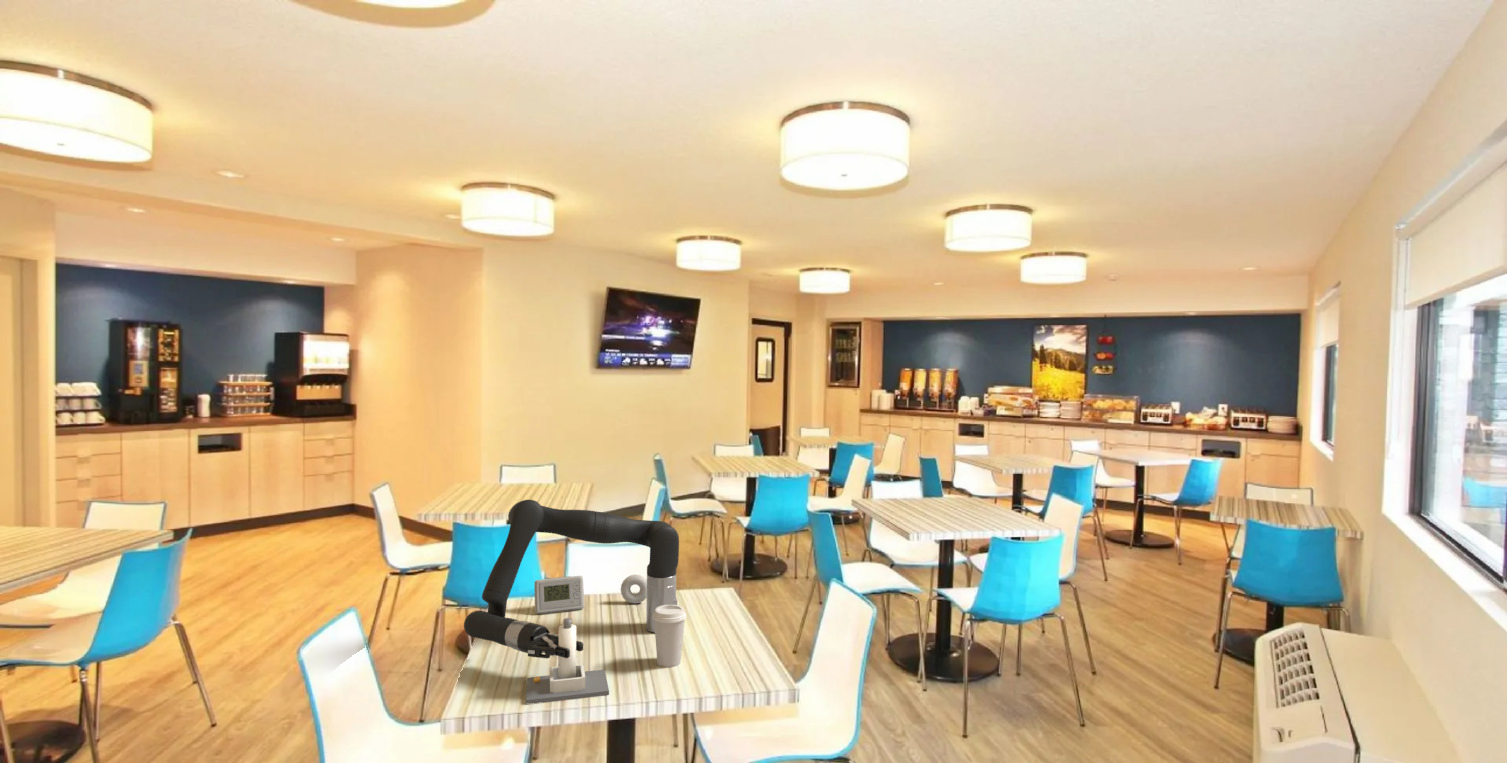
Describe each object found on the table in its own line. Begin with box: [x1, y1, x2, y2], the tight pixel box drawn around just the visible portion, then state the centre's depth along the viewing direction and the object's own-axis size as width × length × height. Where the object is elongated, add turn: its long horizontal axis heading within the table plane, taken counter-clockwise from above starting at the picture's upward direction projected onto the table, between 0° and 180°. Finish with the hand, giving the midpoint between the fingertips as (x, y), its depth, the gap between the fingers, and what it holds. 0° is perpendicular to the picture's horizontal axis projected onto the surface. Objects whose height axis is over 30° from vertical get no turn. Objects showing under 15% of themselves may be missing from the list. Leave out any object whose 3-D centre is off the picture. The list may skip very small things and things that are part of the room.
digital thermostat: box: [533, 575, 585, 615], centre depth 243 cm, size 16×9×11 cm, turn 101°
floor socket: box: [525, 664, 610, 704], centre depth 186 cm, size 20×13×4 cm, turn 107°
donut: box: [620, 574, 647, 605], centre depth 251 cm, size 10×4×10 cm, turn 94°
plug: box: [557, 617, 577, 679], centre depth 186 cm, size 4×4×16 cm
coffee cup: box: [652, 604, 687, 668], centre depth 203 cm, size 10×10×15 cm
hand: (575, 650), depth 185 cm, fingers closed on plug, 4 cm apart
